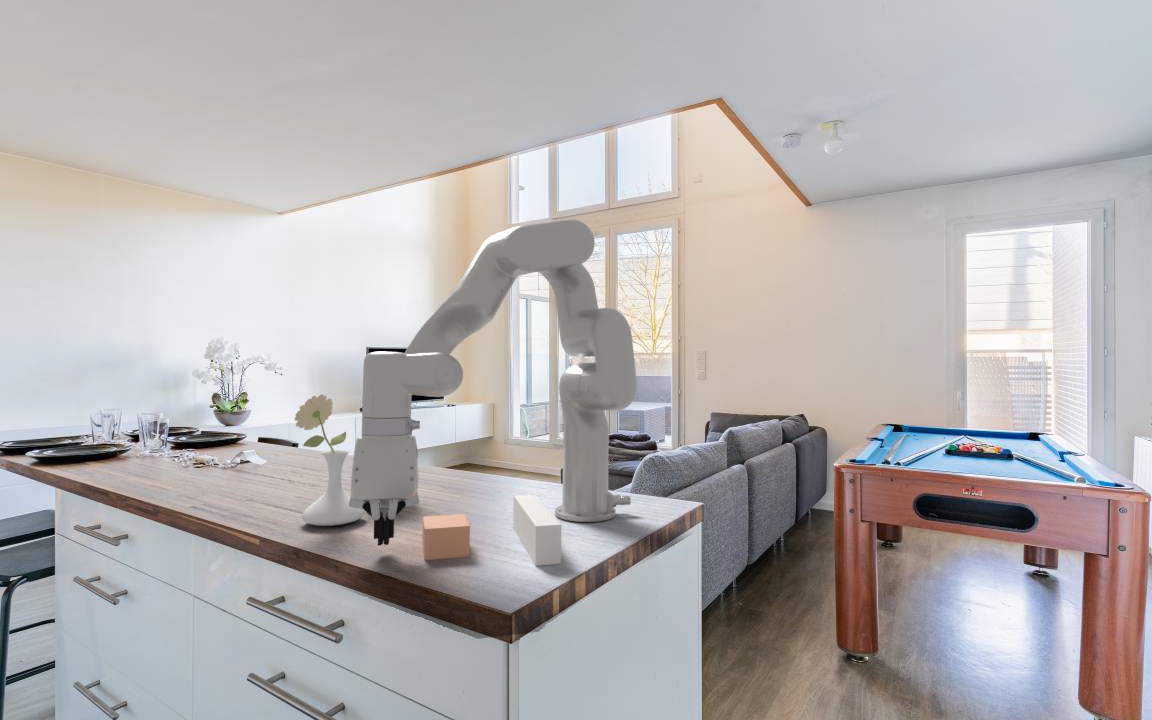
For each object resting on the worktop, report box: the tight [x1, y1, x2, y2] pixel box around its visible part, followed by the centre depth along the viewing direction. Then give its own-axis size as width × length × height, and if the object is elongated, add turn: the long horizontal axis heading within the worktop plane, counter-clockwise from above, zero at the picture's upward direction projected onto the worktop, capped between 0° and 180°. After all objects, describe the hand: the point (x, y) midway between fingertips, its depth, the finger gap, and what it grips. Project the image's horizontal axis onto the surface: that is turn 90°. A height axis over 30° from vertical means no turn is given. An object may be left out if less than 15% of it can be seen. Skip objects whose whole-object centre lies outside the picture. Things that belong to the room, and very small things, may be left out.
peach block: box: [421, 513, 471, 561], centre depth 92 cm, size 7×8×5 cm
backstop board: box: [512, 494, 562, 567], centre depth 96 cm, size 4×22×6 cm, turn 15°
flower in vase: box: [293, 393, 366, 527], centre depth 108 cm, size 13×11×25 cm
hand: (383, 542), depth 90 cm, fingers closed
